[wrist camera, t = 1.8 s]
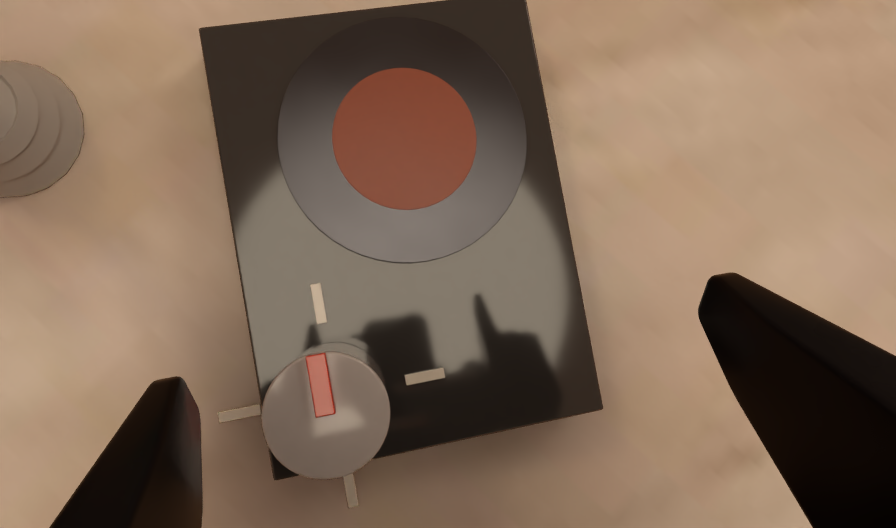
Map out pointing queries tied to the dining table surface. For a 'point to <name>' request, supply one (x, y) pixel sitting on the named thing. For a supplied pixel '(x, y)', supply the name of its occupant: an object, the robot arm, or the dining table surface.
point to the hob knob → (327, 412)
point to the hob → (405, 284)
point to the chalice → (35, 129)
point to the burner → (402, 140)
